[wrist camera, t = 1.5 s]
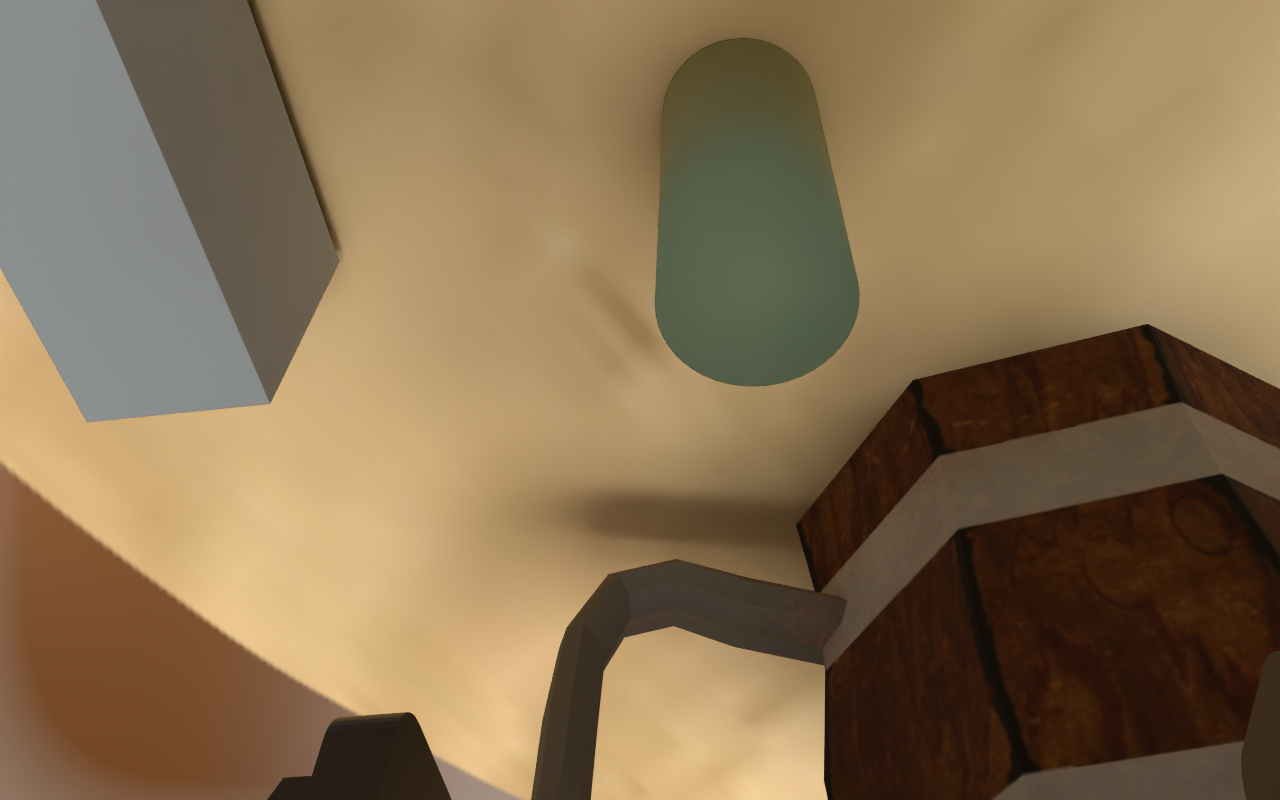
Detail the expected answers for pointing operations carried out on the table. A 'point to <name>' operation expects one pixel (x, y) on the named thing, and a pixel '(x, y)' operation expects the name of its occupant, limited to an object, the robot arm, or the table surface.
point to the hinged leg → (155, 203)
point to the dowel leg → (750, 220)
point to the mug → (1007, 587)
